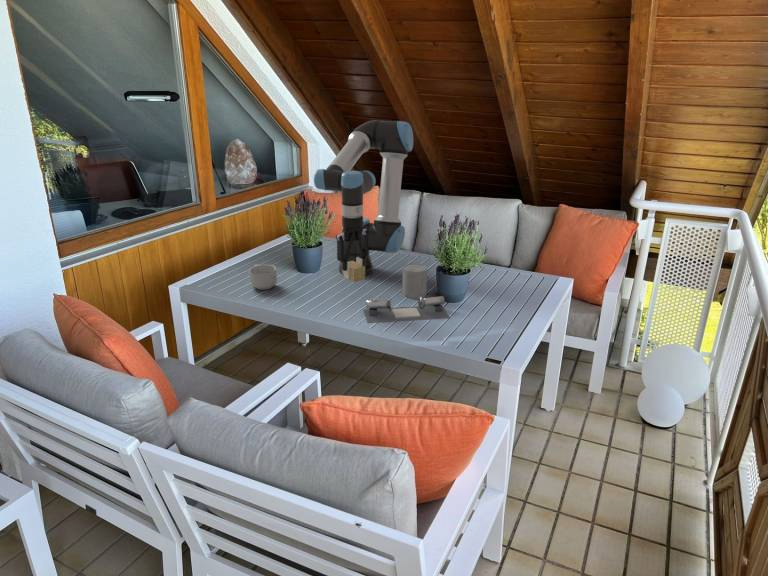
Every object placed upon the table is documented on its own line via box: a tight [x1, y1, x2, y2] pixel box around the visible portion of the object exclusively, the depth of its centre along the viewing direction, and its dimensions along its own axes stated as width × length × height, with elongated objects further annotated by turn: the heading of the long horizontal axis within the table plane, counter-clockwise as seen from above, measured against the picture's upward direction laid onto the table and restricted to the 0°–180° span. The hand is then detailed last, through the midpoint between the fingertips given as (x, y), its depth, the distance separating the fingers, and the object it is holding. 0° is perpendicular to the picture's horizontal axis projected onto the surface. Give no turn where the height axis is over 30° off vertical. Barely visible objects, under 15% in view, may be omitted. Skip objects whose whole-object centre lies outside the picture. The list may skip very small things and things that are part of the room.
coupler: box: [341, 261, 366, 283], centre depth 213 cm, size 8×5×5 cm, turn 37°
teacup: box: [248, 264, 278, 291], centre depth 235 cm, size 14×11×8 cm
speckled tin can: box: [401, 263, 428, 300], centre depth 226 cm, size 10×10×12 cm
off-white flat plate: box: [392, 308, 420, 318], centre depth 210 cm, size 7×9×1 cm
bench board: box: [363, 305, 451, 324], centre depth 210 cm, size 12×30×1 cm, turn 100°
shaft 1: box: [365, 298, 392, 316], centre depth 209 cm, size 9×4×6 cm, turn 90°
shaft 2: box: [417, 295, 445, 312], centre depth 212 cm, size 9×4×6 cm, turn 110°
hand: (353, 276), depth 214 cm, fingers closed on coupler, 5 cm apart
